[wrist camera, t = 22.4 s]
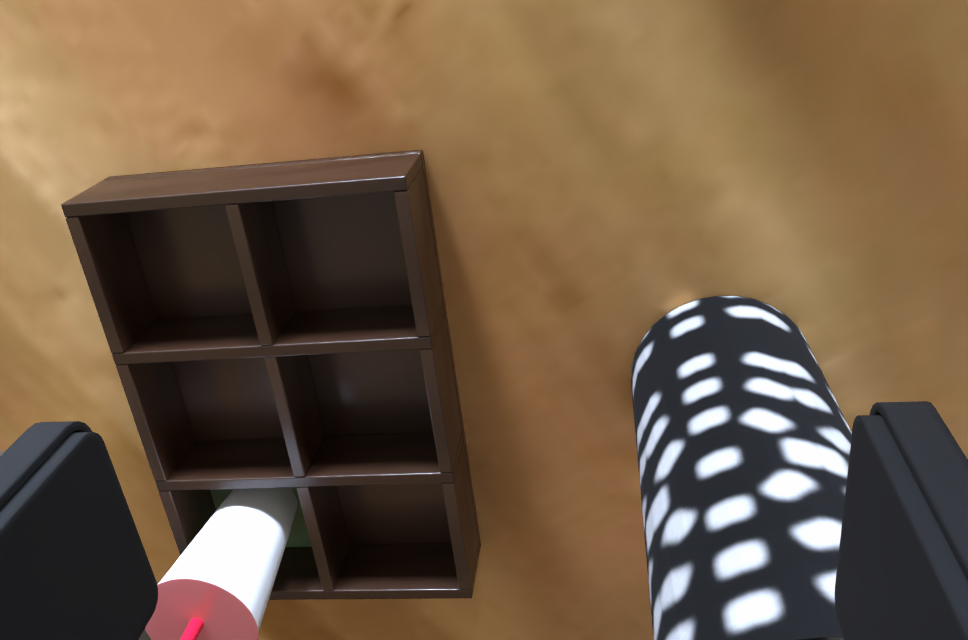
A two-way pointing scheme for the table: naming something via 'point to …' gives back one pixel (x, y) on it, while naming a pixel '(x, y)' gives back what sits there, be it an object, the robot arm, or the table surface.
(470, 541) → the tray
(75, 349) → the table surface
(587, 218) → the table surface
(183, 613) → the cup
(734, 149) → the table surface
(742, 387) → the white-spotted black cylinder
